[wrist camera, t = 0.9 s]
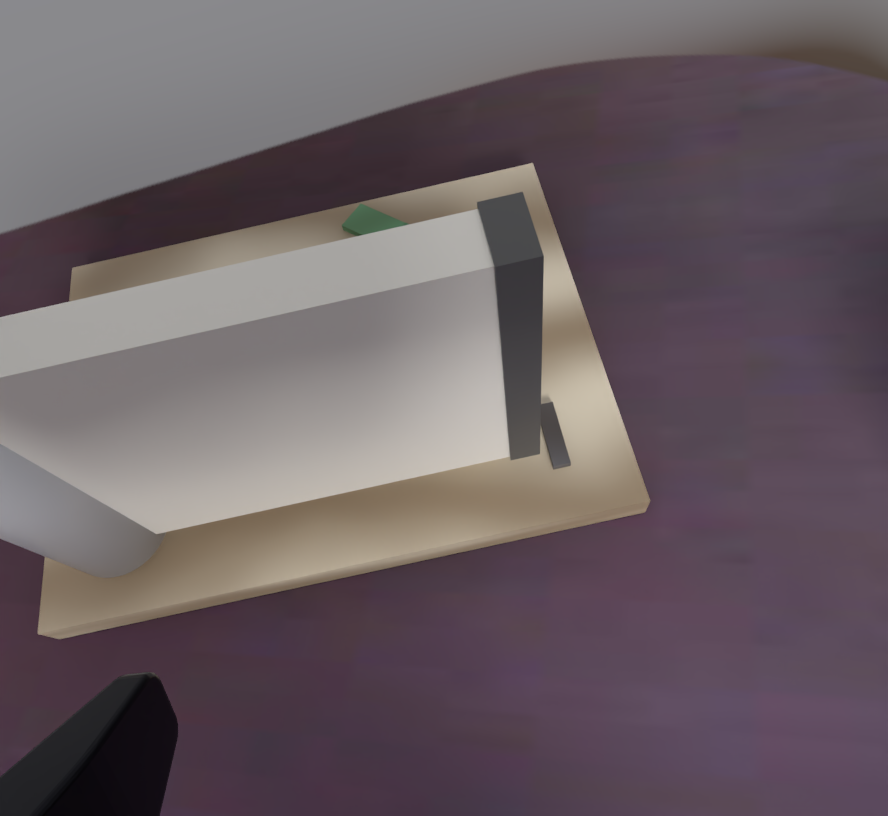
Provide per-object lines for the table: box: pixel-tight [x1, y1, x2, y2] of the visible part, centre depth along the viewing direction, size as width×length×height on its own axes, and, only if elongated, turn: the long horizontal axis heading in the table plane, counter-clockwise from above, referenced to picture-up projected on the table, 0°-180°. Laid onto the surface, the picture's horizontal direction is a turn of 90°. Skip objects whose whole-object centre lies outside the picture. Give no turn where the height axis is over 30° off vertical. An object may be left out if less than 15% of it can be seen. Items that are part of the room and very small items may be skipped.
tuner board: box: [38, 163, 650, 639], centre depth 27 cm, size 16×21×2 cm
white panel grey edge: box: [0, 192, 544, 578], centre depth 18 cm, size 17×4×12 cm, turn 101°
